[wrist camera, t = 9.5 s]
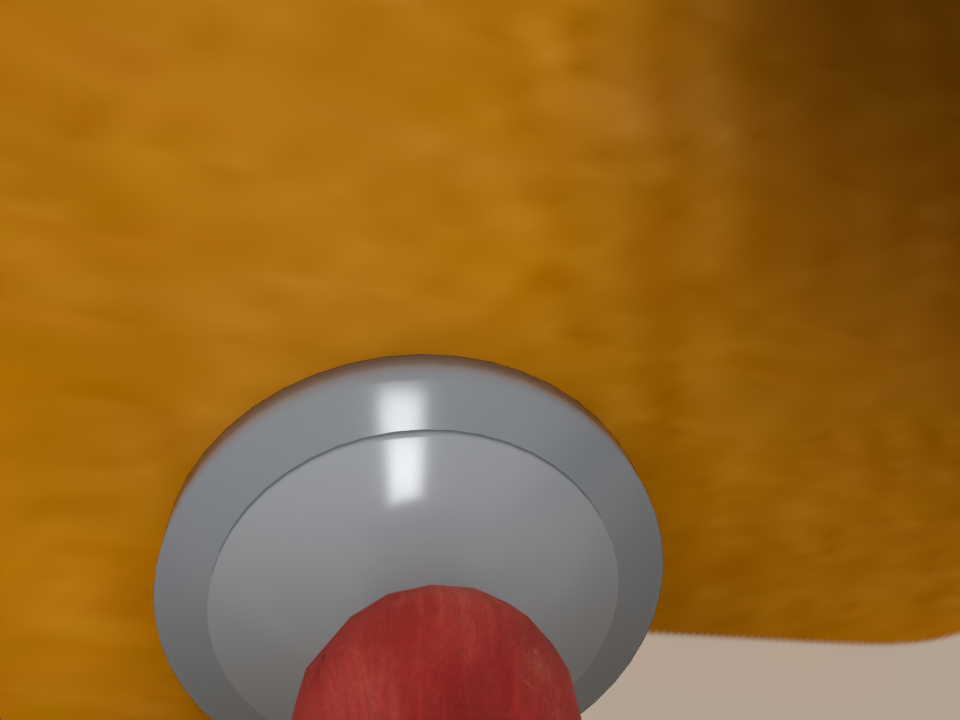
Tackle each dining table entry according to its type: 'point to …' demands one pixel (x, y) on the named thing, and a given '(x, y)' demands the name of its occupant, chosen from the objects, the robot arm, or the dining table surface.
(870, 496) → the dining table surface
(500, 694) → the onion
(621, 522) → the plate
